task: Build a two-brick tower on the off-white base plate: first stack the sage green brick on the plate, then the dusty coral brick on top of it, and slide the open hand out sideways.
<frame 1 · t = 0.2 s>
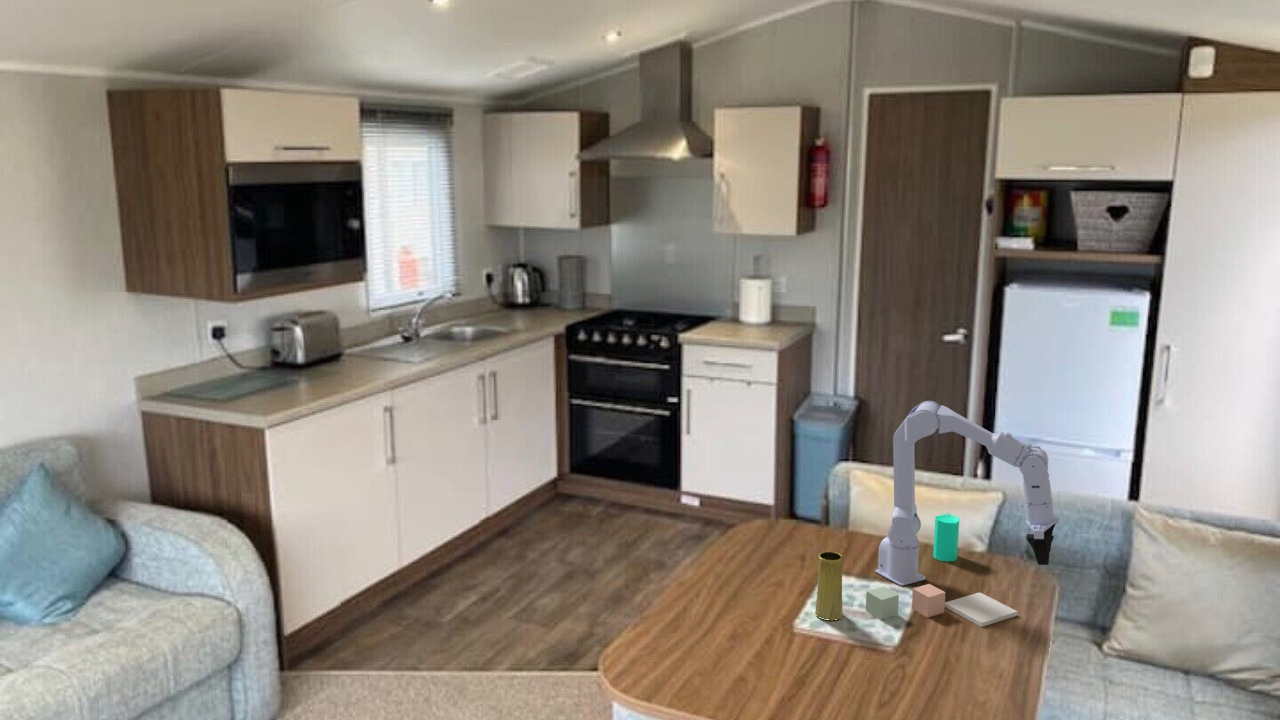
hand: (1044, 557, 220), 10 cm above the table, tool pointing down, fingers open, 7 cm apart
brick top: (927, 610, 218), on the table
brick bottom: (881, 613, 217), on the table
candle: (945, 557, 247), on the table
vase: (828, 615, 216), on the table
base plate: (980, 611, 217), on the table
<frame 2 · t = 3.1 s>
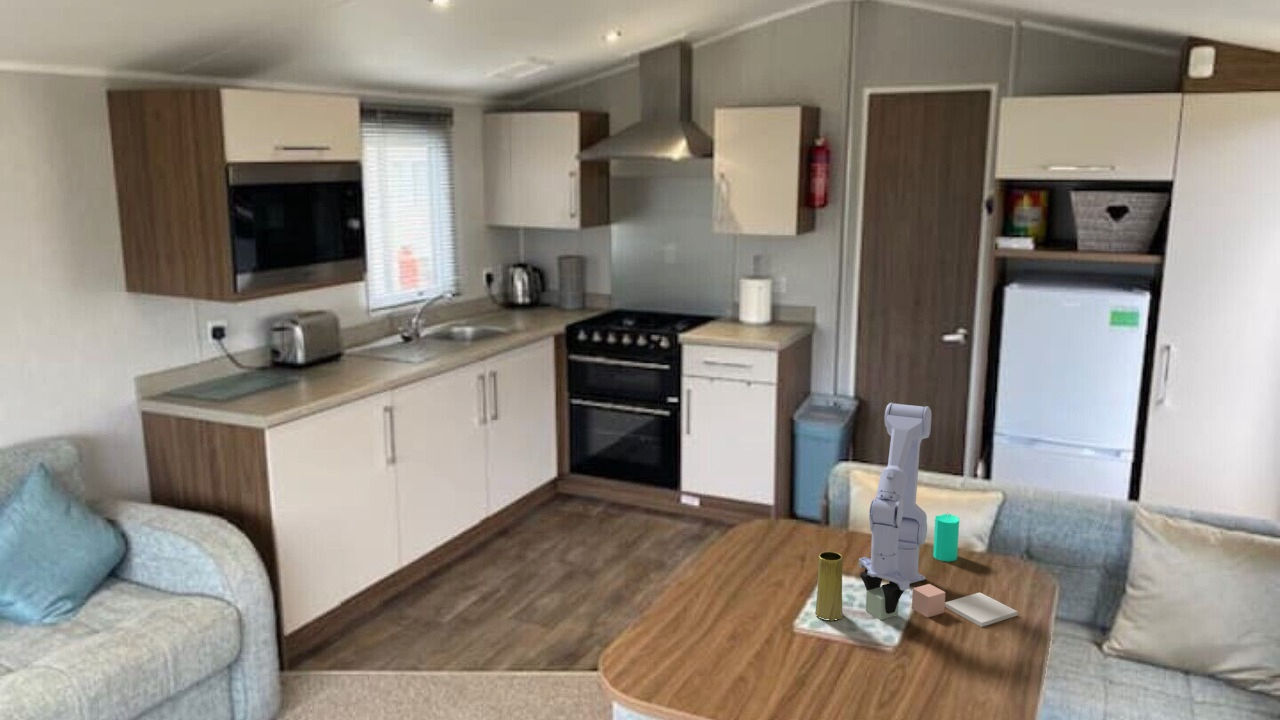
hand: (882, 607, 217), 1 cm above the table, tool pointing down, fingers closed on brick bottom, 5 cm apart
brick bottom: (881, 613, 217), on the table, touching gripper
everything else where it was.
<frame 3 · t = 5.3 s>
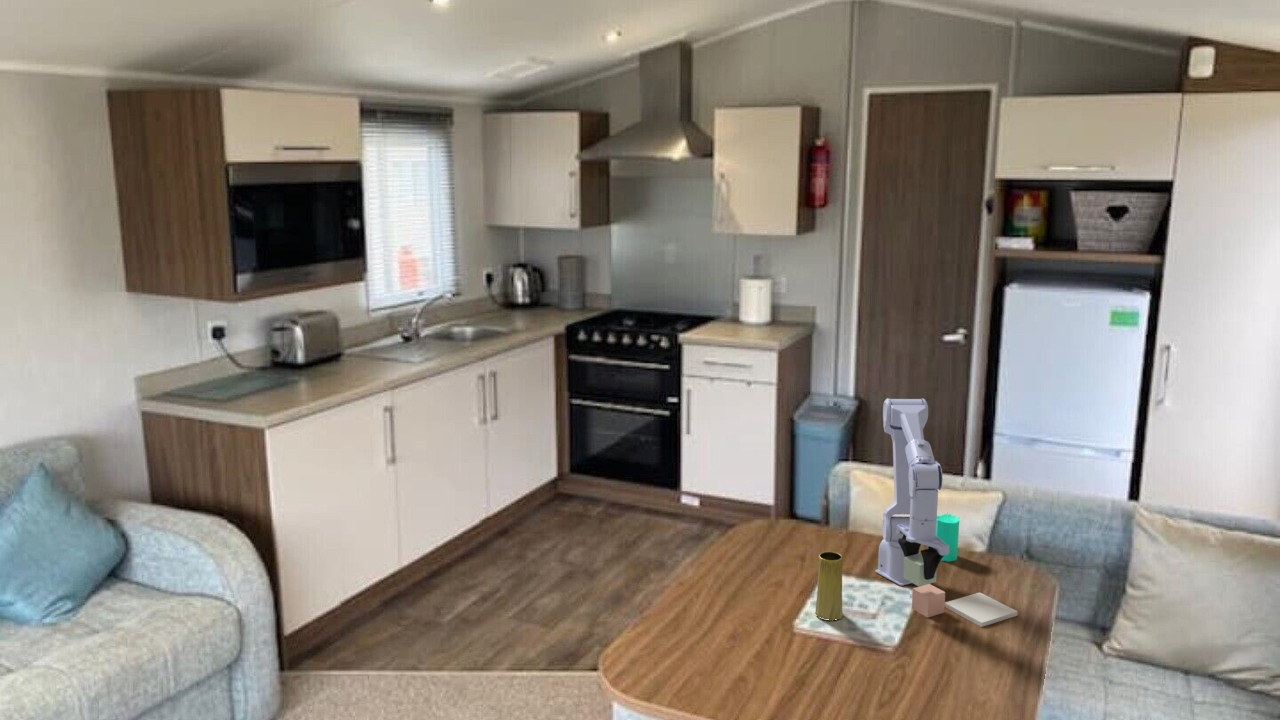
hand: (920, 573, 215), 9 cm above the table, tool pointing down, fingers closed on brick bottom, 5 cm apart
brick bottom: (919, 579, 215), point 8 cm above the table, touching gripper
everything else where it was.
when the fingers open (3 cm above the table, at t = 7.8 s): brick bottom stays where it is, resting on base plate.
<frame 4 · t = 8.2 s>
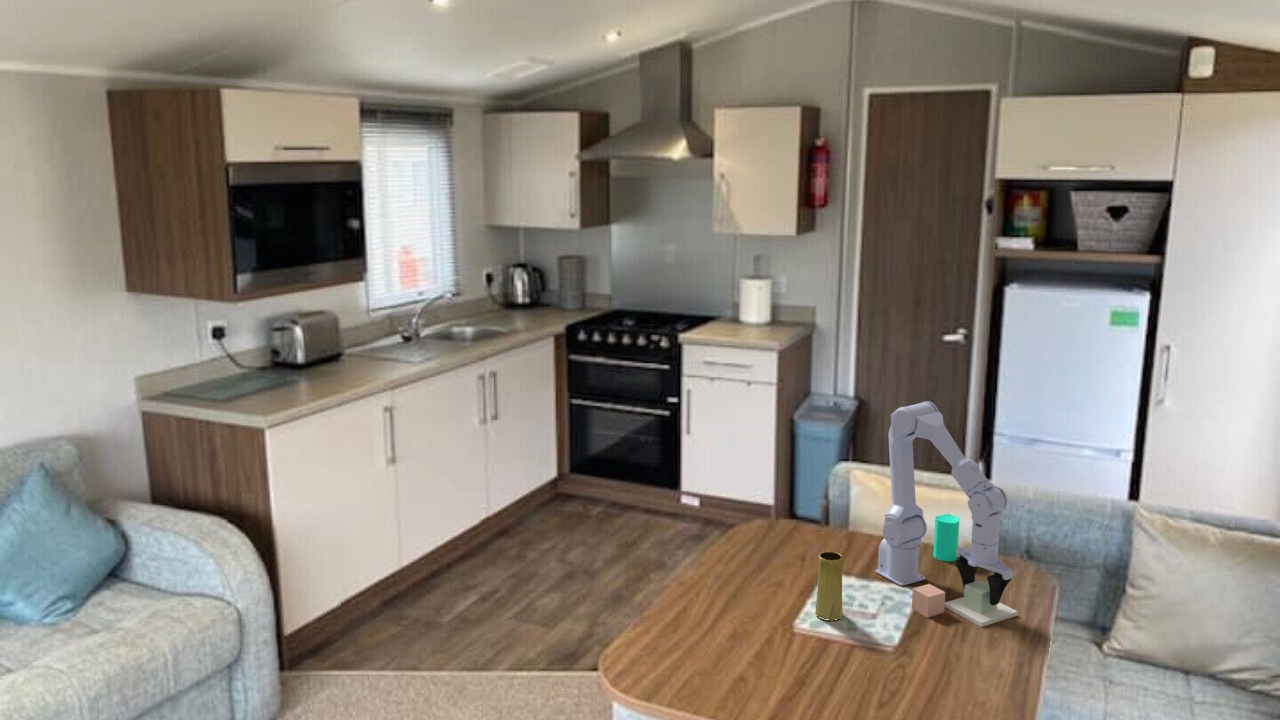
hand: (981, 597, 216), 3 cm above the table, tool pointing down, fingers open, 7 cm apart
brick bottom: (979, 607, 217), point 1 cm above the table, touching base plate
everything else where it was.
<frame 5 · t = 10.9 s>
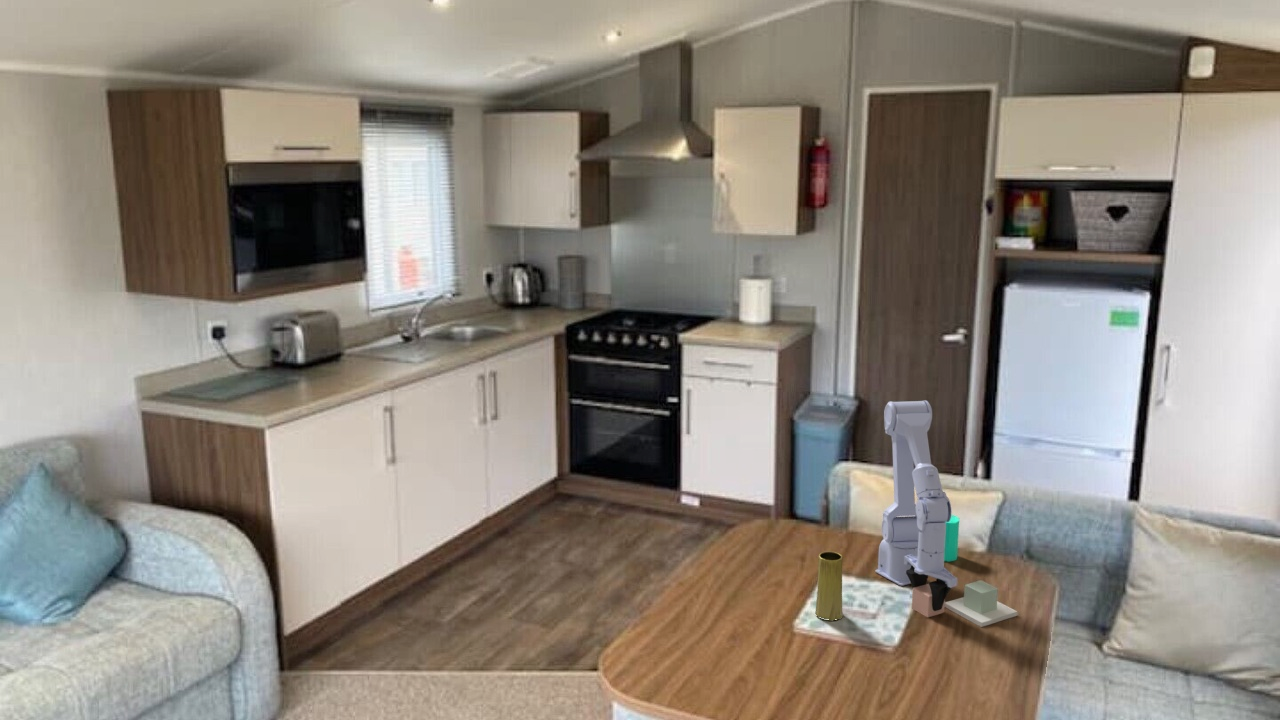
hand: (928, 604, 218), 1 cm above the table, tool pointing down, fingers closed on brick top, 5 cm apart
brick top: (927, 610, 218), on the table, touching gripper
everything else where it was.
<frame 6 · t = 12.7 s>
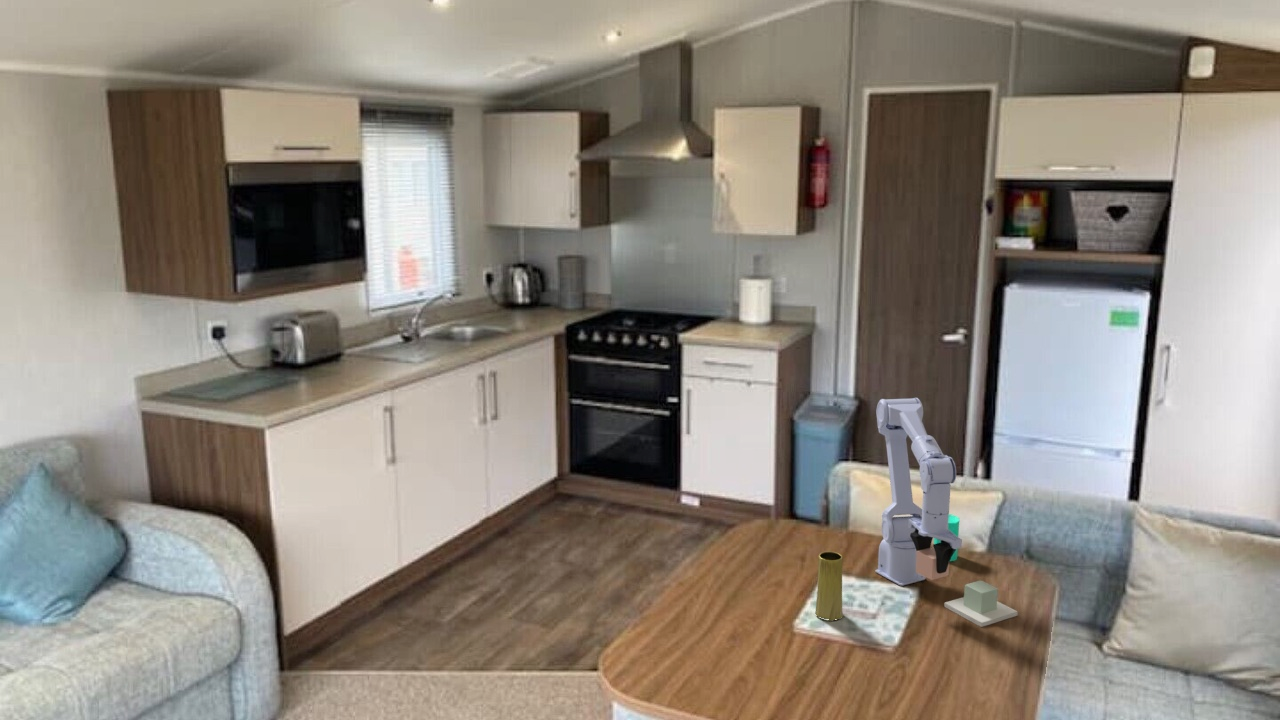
hand: (932, 567, 216), 10 cm above the table, tool pointing down, fingers closed on brick top, 5 cm apart
brick top: (932, 573, 216), point 9 cm above the table, touching gripper
everything else where it was.
when the fingers open (8 cm above the table, at t = 14.4 s): brick top stays where it is, resting on brick bottom.
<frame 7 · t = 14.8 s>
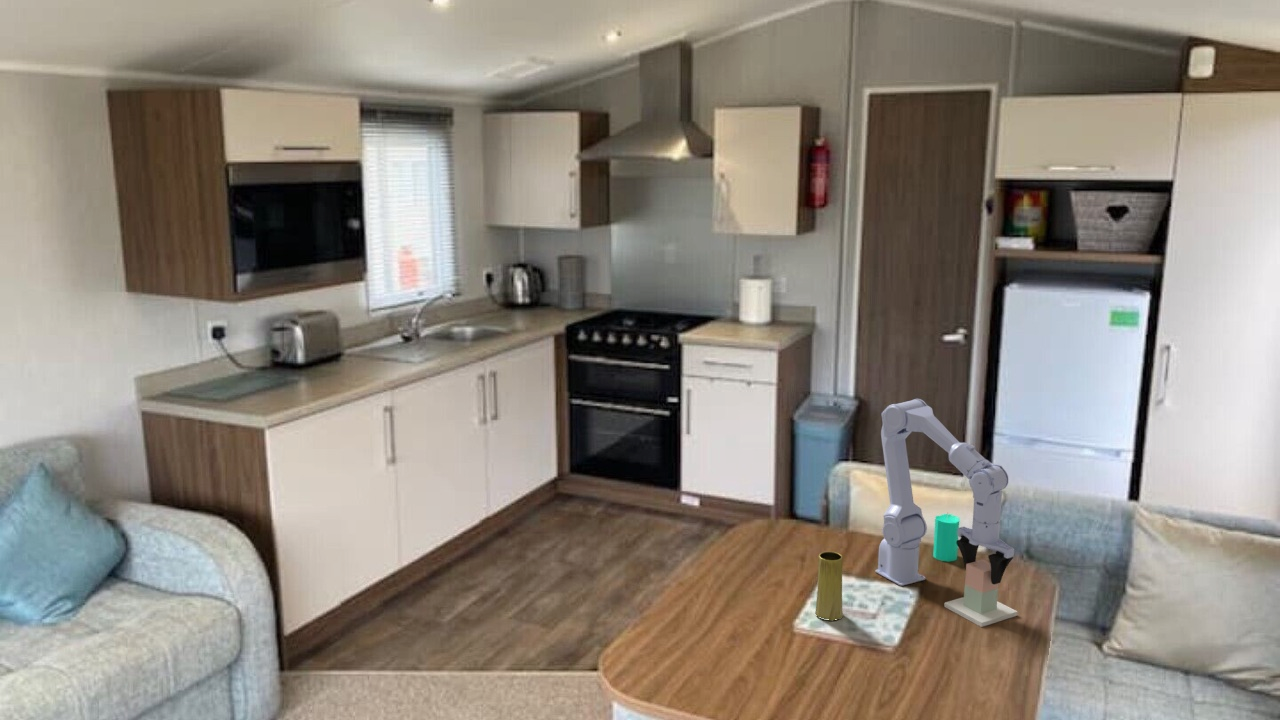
hand: (982, 576, 215), 8 cm above the table, tool pointing down, fingers open, 7 cm apart
brick top: (981, 586, 216), point 6 cm above the table, touching brick bottom
brick bottom: (979, 607, 217), point 1 cm above the table, touching base plate, brick top
everything else where it was.
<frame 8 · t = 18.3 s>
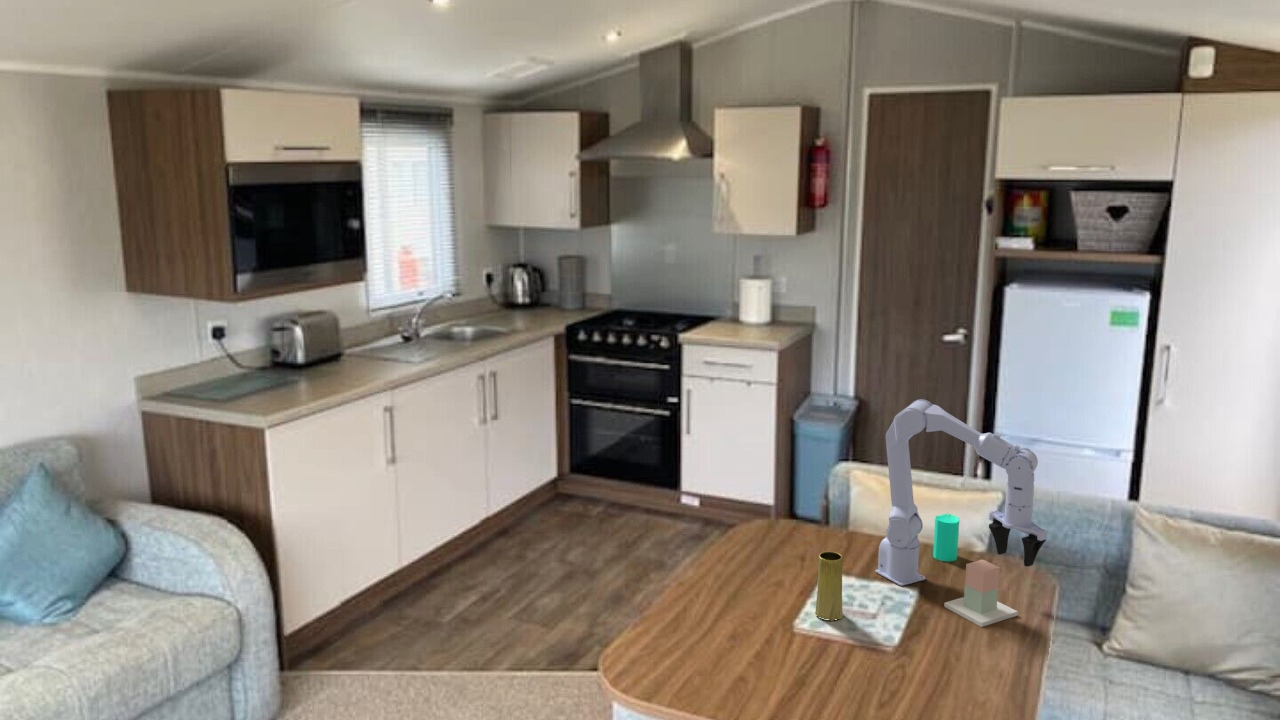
hand: (1015, 559, 219), 10 cm above the table, tool pointing down, fingers open, 7 cm apart
nothing on the table moved.
at the end: brick bottom 0.2 cm off-centre on the base plate, point 1.0 cm above the base plate's base; brick top 0.2 cm off-centre on the brick bottom, point 5.0 cm above the brick bottom's base; the gripper is holding nothing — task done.
